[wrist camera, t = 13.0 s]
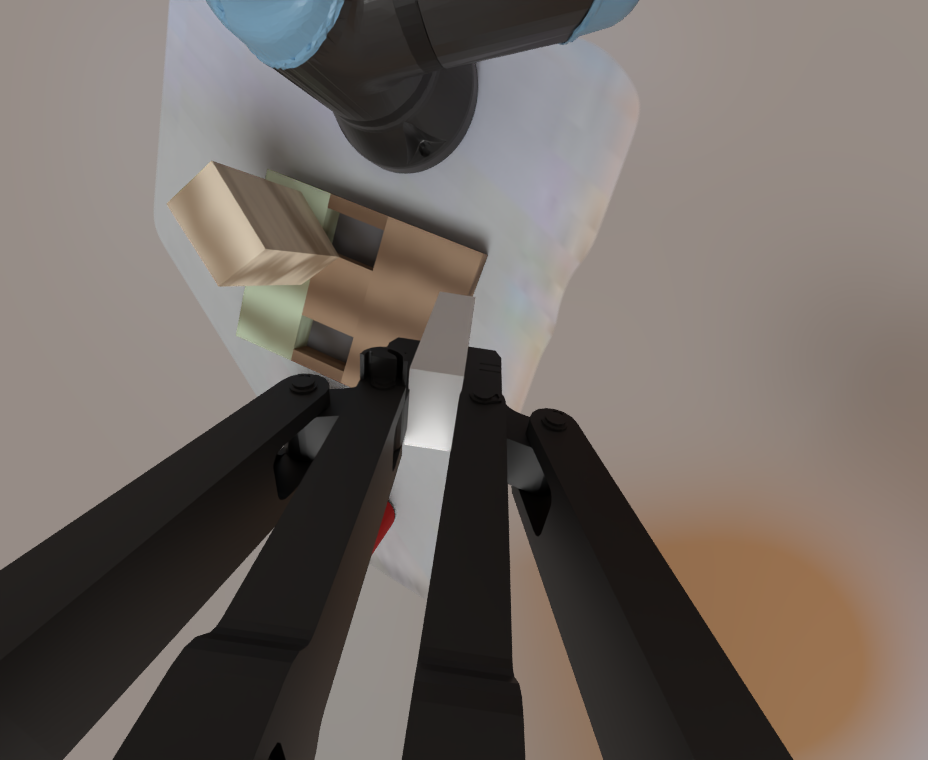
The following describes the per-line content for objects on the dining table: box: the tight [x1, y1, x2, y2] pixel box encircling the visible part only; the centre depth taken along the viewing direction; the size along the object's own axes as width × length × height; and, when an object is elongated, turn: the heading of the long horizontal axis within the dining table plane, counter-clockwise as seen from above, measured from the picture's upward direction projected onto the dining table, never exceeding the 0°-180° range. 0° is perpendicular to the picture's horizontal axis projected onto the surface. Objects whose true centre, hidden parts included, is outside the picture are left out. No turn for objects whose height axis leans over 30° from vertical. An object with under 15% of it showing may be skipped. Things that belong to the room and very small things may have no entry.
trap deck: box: [236, 169, 488, 388], centre depth 47 cm, size 20×26×3 cm
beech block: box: [167, 161, 339, 286], centre depth 39 cm, size 6×8×12 cm
